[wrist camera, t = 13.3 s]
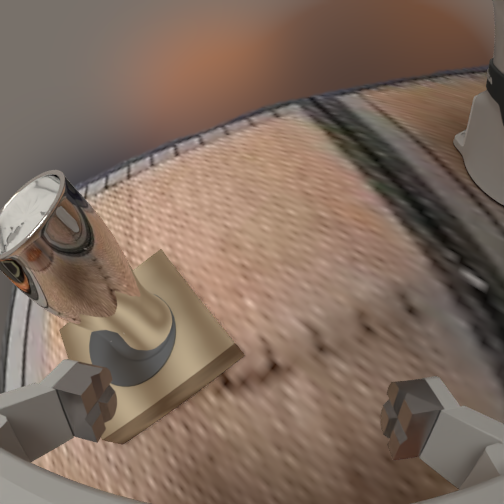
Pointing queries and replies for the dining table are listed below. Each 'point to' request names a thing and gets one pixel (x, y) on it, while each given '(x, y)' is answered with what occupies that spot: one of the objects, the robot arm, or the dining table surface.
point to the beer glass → (78, 267)
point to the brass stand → (158, 355)
